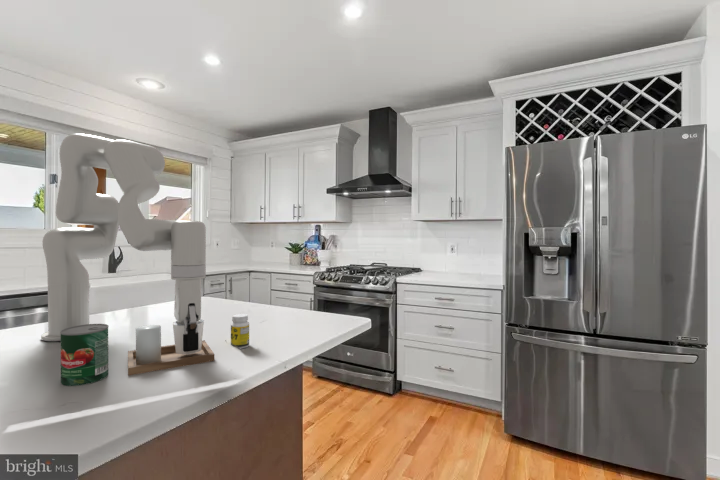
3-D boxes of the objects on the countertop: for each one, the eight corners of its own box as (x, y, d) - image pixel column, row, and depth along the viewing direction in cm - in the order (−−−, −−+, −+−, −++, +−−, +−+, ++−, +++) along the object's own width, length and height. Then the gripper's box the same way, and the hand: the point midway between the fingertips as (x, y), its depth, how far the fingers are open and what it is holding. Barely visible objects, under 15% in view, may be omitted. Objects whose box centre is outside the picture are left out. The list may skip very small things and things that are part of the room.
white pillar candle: (135, 361, 85) (135, 326, 85) (160, 357, 88) (160, 323, 88) (136, 367, 81) (135, 331, 81) (162, 363, 84) (161, 328, 84)
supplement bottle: (227, 346, 99) (227, 315, 99) (243, 342, 103) (243, 312, 103) (236, 350, 96) (236, 318, 96) (252, 346, 100) (252, 315, 99)
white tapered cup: (166, 354, 86) (166, 324, 86) (185, 345, 93) (185, 317, 93) (192, 356, 85) (192, 325, 85) (210, 347, 92) (210, 319, 92)
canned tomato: (54, 392, 70) (53, 335, 70) (67, 377, 78) (67, 325, 77) (104, 386, 74) (103, 331, 73) (112, 372, 81) (112, 322, 81)
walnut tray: (128, 360, 88) (127, 351, 88) (204, 348, 97) (204, 340, 97) (128, 379, 77) (128, 368, 77) (214, 364, 86) (214, 354, 86)
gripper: (167, 269, 94) (167, 339, 95) (175, 277, 79) (175, 360, 80) (199, 268, 98) (199, 335, 99) (212, 275, 83) (212, 354, 84)
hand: (188, 345), depth 89 cm, fingers closed on white tapered cup, 6 cm apart
